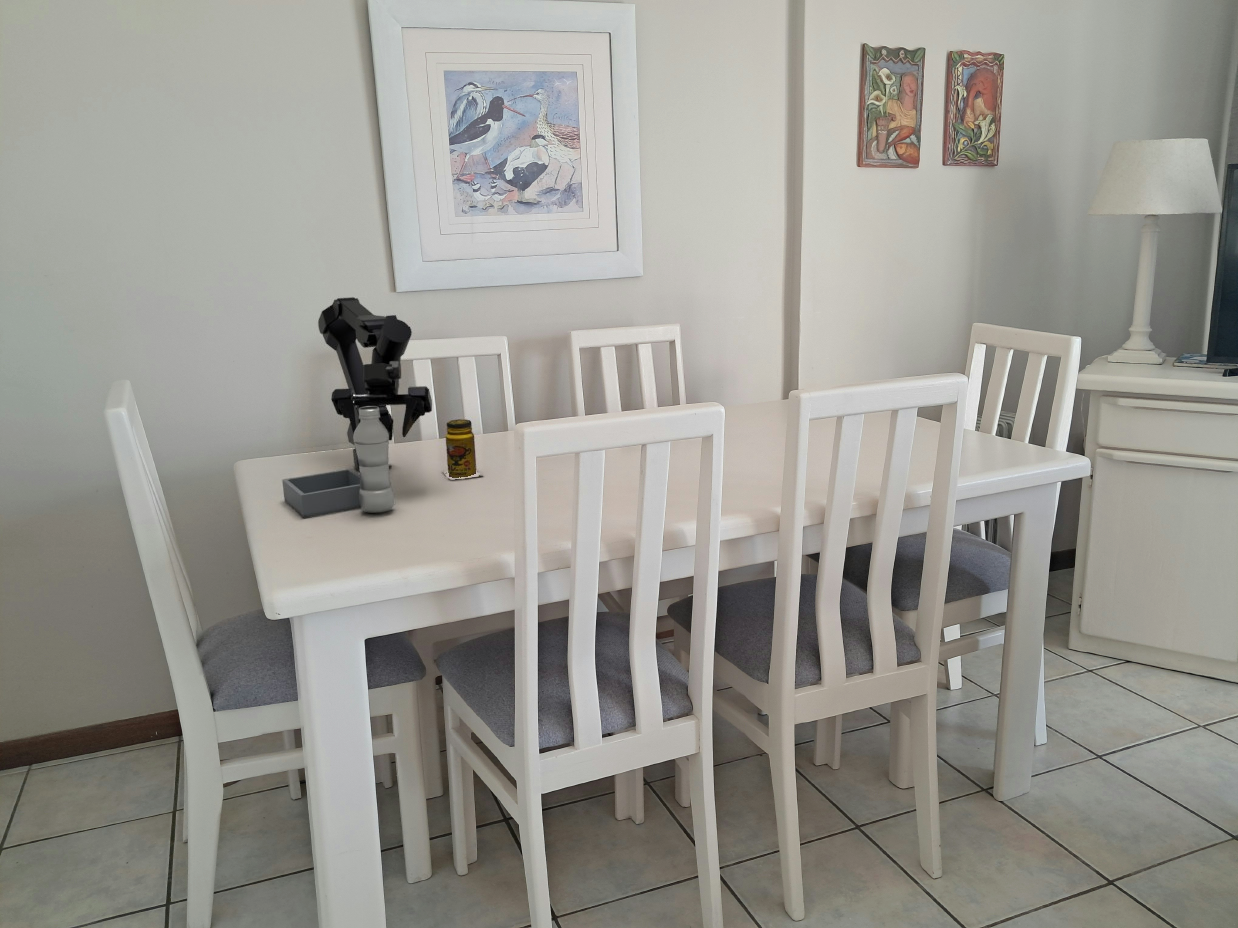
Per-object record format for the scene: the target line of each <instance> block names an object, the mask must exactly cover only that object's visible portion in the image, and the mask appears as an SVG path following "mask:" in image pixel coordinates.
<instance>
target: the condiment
mask: <svg viewBox="0 0 1238 928" xmlns="http://www.w3.org/2000/svg"><path fill="white" fill-rule="evenodd" d="M472 424H473V423H472V421H471V420H469V419H465V418H463V419H462V418H461V419H452V420H449V421H447V422H446V432H447V433H446V434H445V446H446V448H445V449H446V465H447V471H448V473H449V477H452V478H459V477H460V478H461V477H468V476H471V475H474V474H476V470H477V457H476V443H475V434H474V432H473V427H472V426H473V425H472ZM445 474H447V472H446V473H445Z"/></svg>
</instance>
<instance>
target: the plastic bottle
mask: <svg viewBox="0 0 1238 928" xmlns="http://www.w3.org/2000/svg"><path fill="white" fill-rule="evenodd" d="M379 418H380V413H379V407H377V406H366V407H361V408H359V419H361V421H360V423H359V425H358V426H357V428H356V430H355V432H354V435H353V439H354V444H355V445H354V449H355V448H356V452H357V456H358V462H359V469H360V470H359V474H360V492H359V501H360V505H361V508H360V509H362V511H364V512H366V513H369V514H378V513H379V514H380V513H385V512H389V511H391V510H392V509H393V507H394V506H395V501H396V495H395V491H394V487H393V486H392V481H391V473H390V469H389V465H390V464H389V462H390V461H389V448H390V447H389V446H390V441H389V434H388V431H387V429H386V428H385V427H384V425H383V424H382V423H381V422H380V421H379Z"/></svg>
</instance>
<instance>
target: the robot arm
mask: <svg viewBox="0 0 1238 928" xmlns="http://www.w3.org/2000/svg"><path fill="white" fill-rule="evenodd" d="M317 322H318V323H317V326H318V331H319V333H320V334H321V335H322V337H323V339H324V342H325V344H326V345H327V346H328V347H330V348H331V349H333V350H334V352H336V355H337V358H338V361H339V363H340V366H341V369H342V373H343V376H344V379H345V383H346V385H347V387H348V388H336V389H334V390H333V391H332V392H331V403H332V405H333V407H334V409H335V412H336V414H337V415H339V416H342V417H343V419H344V418H345V419H348V420H349V423H348V428H347V432H346V436H347V439H348V440H347V441H348V443H350V444H352V445H353V446H355V444H354V439H353V435H354V432H355V430H356V428H357V426H358V425H359V423H360V421H361V419H359V408H361V407H366V406H377V407H379V413H380V418H379V421H380V422H381V423H382V424H383V425H384V427H385V428H386V429H387V431H388V434H389V442H390V441H393V436H394V419H393V417H392V414H391V413H390V411H389V410H388V408H387V407H388V406H405V410H404V411H405V412H404V415H403V423H402V429H401V430H402V432H401V433H402V434H401V435H402V437H403V438H405V437H407V435H408V433H409V432H410V430H411V429H412V427H413V425H414V424H415V423H416V422H417V420H419V418H420V417H423V416H425V415H426V414H427V413H428V414H429V413H432V411H433V399H432V396H431V391H430V388H428V387H427V386H426V385H425V386H421V385H420V386H409V387H408V388H407V393H404V394H403V393H402V394H399V388H400V379H402V363H401V361H402V356H404V355H405V352H406V350H407V348H408V344H409V342H410V340H411V337H412V334H413V332H412V329H411V326H409V324H407V323H406V322H405V321H403V320H401V319H398V317H397V315H395V314H392V315H390V314H389V315H376V314H373V313H372V312H371V311H370V310H369V309H368V308H366V307H365V306H364V305H362V304H361V303H360V299H359V298H357V297H356V298H355V297H353V296H351V297H338V298H336V299H334V300H333V302H332V304H331V305H329V306H327V307H326V308H325V309H323V310H322V311H321V313H320V315H319V318H318V321H317ZM357 342H358V343H359V344H360V346H362V347H363V348H364V349H367V348H372V351H371V363H365V364H364V363H363V359H362V356H361V353H360V351H359V347H358V344H357ZM362 347H361V348H362ZM352 454H353V455H352V456H353V467H354V468H355V469H357V470H358V471H360V469H359V462H358V456H357V452H356V448H355V447H354V448H353V449H352ZM390 469H392V465H390V464H389V470H390Z"/></svg>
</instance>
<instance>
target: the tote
mask: <svg viewBox="0 0 1238 928" xmlns="http://www.w3.org/2000/svg"><path fill="white" fill-rule="evenodd" d="M281 482H282V488H283V498H284V499H283V500H284V502H285V503H286V505H288V506H289V507H290V508H291V509H292V510H294V511H295V513H297V514H298V515H299V516H300V517H301V518H302V519H309V518H313V517H320V516H326V515H330V514H337V513H341V512H346V511H352V510H353V511H354V510H358V509H362V508H361V505H360V501H359V492H360V473H358V472H356V471H355V470H353V469H352V468H345V469H339V470H334V471H327V472H321V473H315V474H308V475H301V476H296V477H289V478H284V479H281Z"/></svg>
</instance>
